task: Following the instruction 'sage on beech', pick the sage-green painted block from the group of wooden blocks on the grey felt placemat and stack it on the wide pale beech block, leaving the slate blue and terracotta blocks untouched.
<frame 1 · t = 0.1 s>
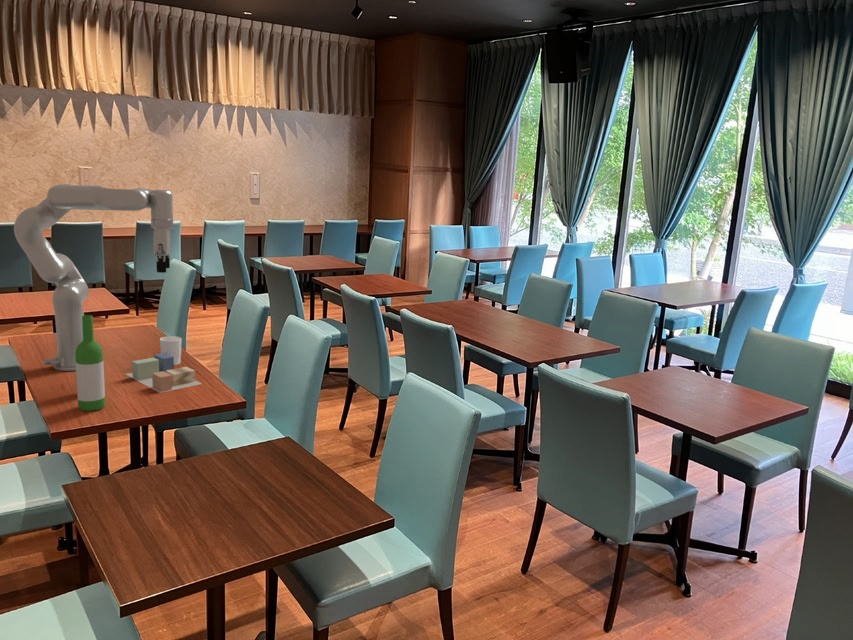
hand: (163, 270, 255), 37 cm above the table, tool pointing down, fingers open, 9 cm apart
terracotta block: (162, 388, 238), resting on felt placemat
white cup: (171, 364, 267), on the table
slate blue block: (164, 371, 256), resting on felt placemat
wine bottle: (91, 408, 217), on the table
felt placemat: (163, 379, 248), on the table
beech block: (180, 381, 247), resting on felt placemat
sage block: (146, 376, 249), resting on felt placemat
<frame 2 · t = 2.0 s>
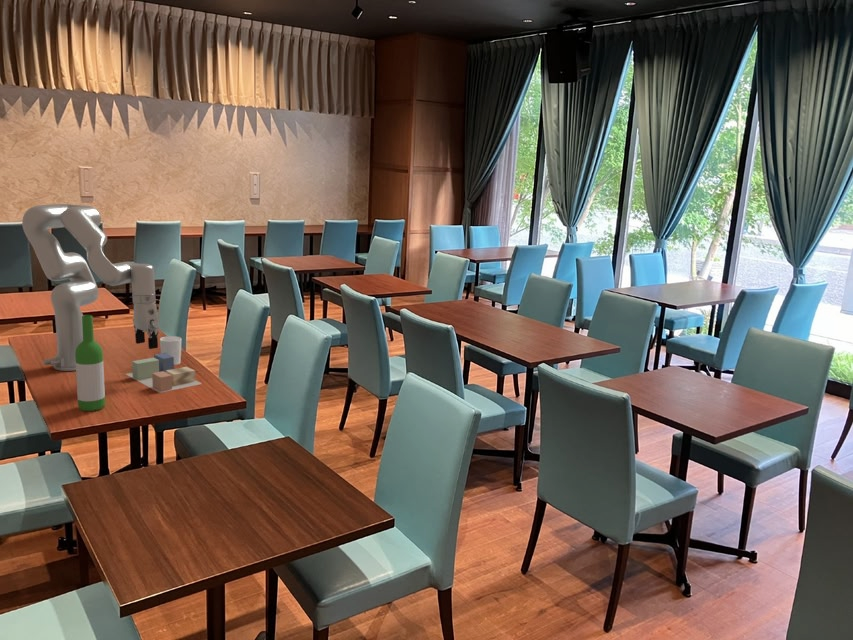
hand: (146, 345, 246), 12 cm above the table, tool pointing down, fingers open, 9 cm apart
nothing on the table moved.
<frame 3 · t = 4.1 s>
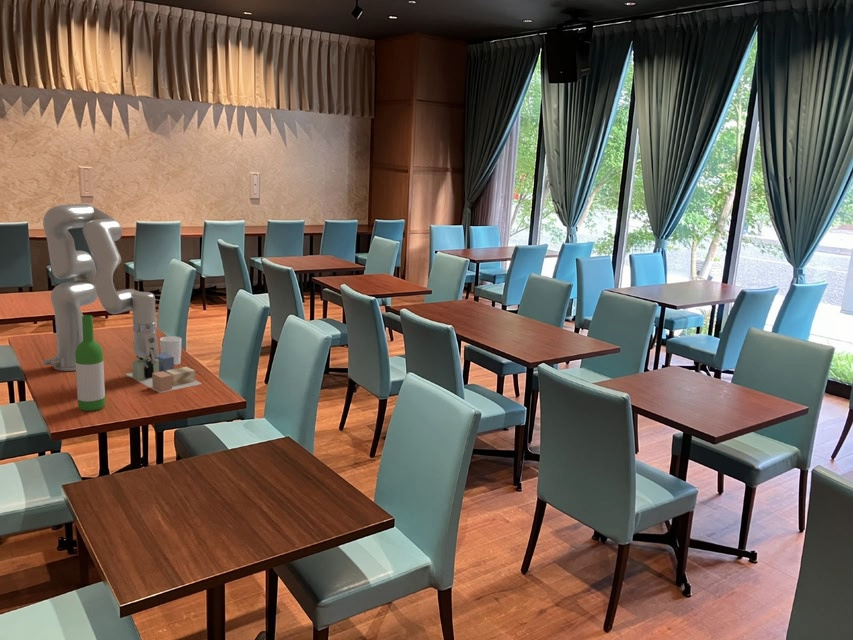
hand: (146, 375, 249), 1 cm above the table, tool pointing down, fingers closed on sage block, 4 cm apart
sage block: (146, 376, 249), resting on felt placemat, touching gripper
everything else where it was.
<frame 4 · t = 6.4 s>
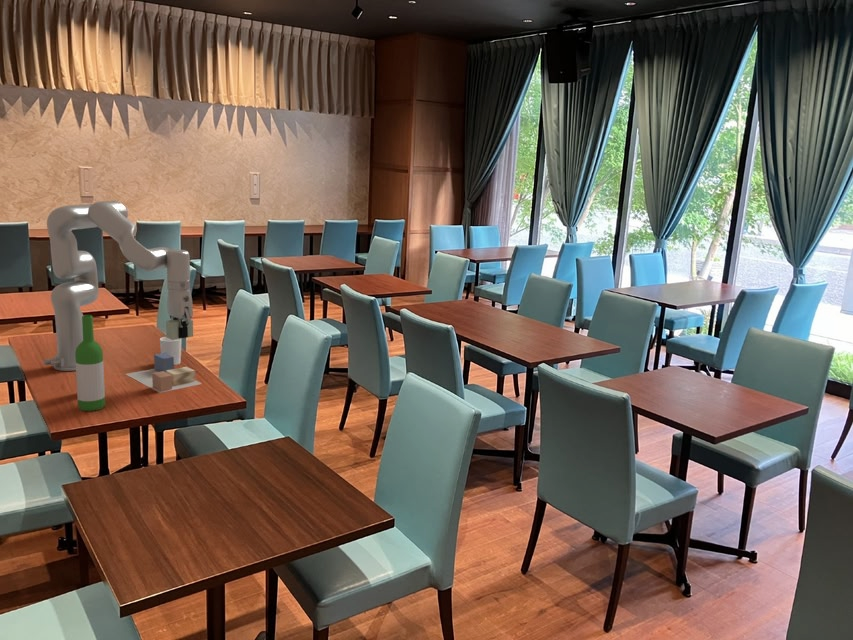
hand: (179, 335, 243), 17 cm above the table, tool pointing down, fingers closed on sage block, 4 cm apart
sage block: (179, 337, 243), point 17 cm above the table, touching gripper
everything else where it was.
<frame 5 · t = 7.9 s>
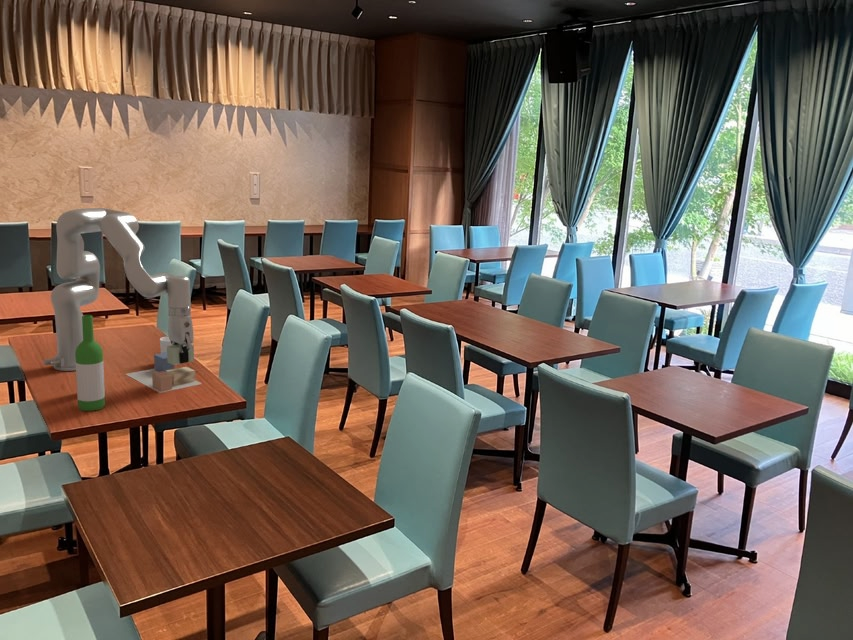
hand: (180, 360, 245), 8 cm above the table, tool pointing down, fingers closed on sage block, 4 cm apart
sage block: (180, 361, 245), point 7 cm above the table, touching gripper
everything else where it was.
when the fingers open (6 cm above the table, at t = 9.1 s): sage block drops 1 cm, resting on beech block.
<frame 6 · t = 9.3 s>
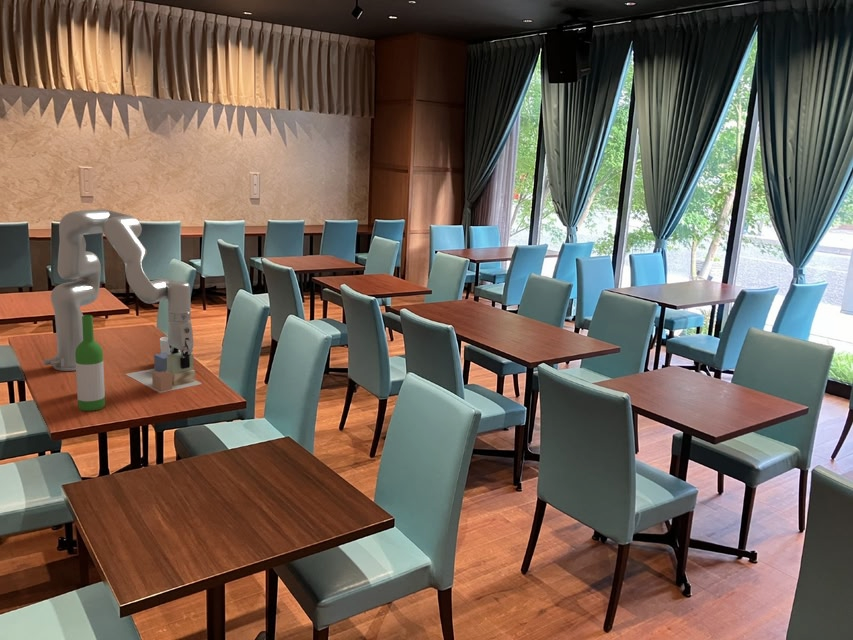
hand: (180, 365, 245), 6 cm above the table, tool pointing down, fingers open, 6 cm apart
beech block: (180, 381, 247), resting on felt placemat, touching sage block
sage block: (180, 370, 246), point 4 cm above the table, touching beech block
everything else where it was.
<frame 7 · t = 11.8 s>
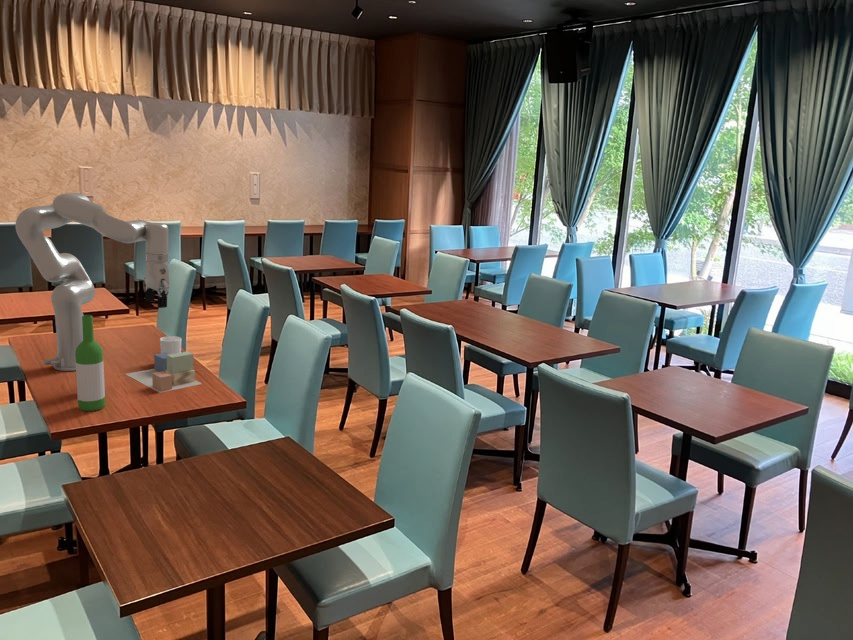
hand: (156, 304, 249), 26 cm above the table, tool pointing down, fingers open, 9 cm apart
nothing on the table moved.
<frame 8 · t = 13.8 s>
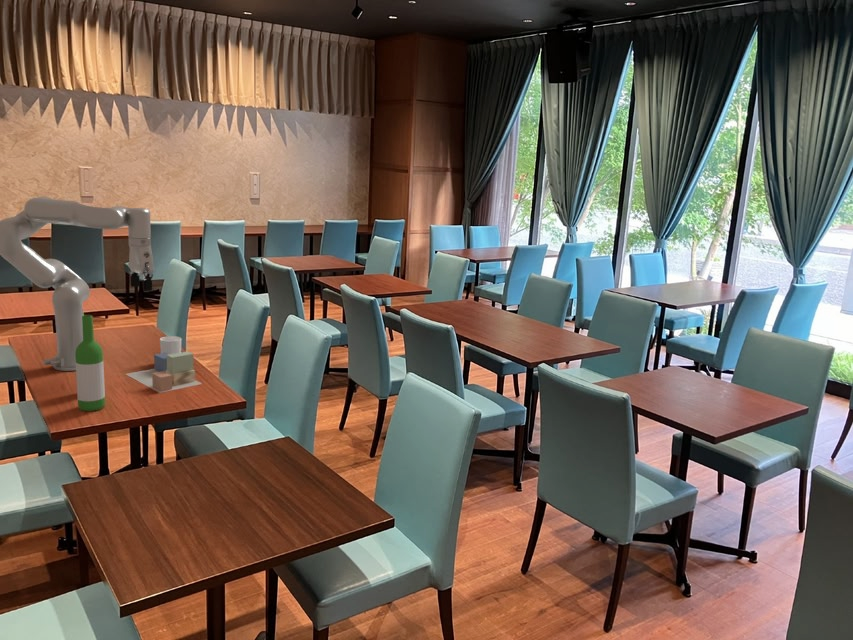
hand: (141, 288, 254), 30 cm above the table, tool pointing down, fingers open, 9 cm apart
nothing on the table moved.
at the end: sage block 0.1 cm off-centre on the beech block, point 4.0 cm above the beech block's base; slate blue block moved 0.0 cm from its start; terracotta block moved 0.0 cm from its start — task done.
